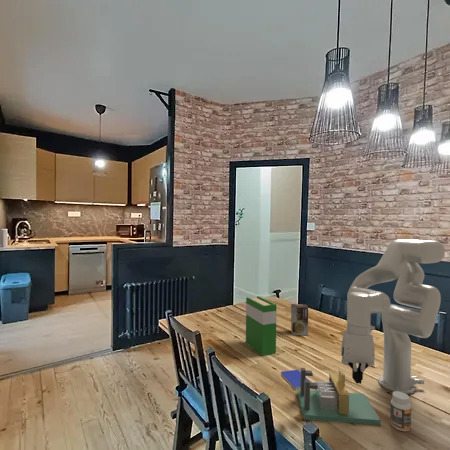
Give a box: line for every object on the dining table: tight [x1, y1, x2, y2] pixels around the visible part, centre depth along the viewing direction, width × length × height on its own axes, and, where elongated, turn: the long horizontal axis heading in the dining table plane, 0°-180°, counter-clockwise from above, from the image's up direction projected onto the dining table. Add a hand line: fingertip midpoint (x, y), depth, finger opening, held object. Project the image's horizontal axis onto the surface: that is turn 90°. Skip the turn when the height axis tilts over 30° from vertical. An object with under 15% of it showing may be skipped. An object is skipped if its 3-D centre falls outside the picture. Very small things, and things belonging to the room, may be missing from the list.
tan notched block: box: [328, 368, 350, 415], centre depth 106 cm, size 3×14×10 cm, turn 175°
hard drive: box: [280, 369, 309, 391], centre depth 125 cm, size 2×8×12 cm
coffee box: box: [290, 303, 309, 336], centre depth 176 cm, size 9×6×16 cm
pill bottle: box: [389, 391, 412, 432], centre depth 97 cm, size 6×6×10 cm
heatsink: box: [314, 380, 339, 412], centre depth 107 cm, size 8×10×6 cm
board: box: [296, 367, 382, 426], centre depth 106 cm, size 24×15×11 cm, turn 85°
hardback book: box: [245, 295, 277, 357], centre depth 156 cm, size 18×7×24 cm, turn 23°
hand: (357, 381), depth 106 cm, fingers closed
